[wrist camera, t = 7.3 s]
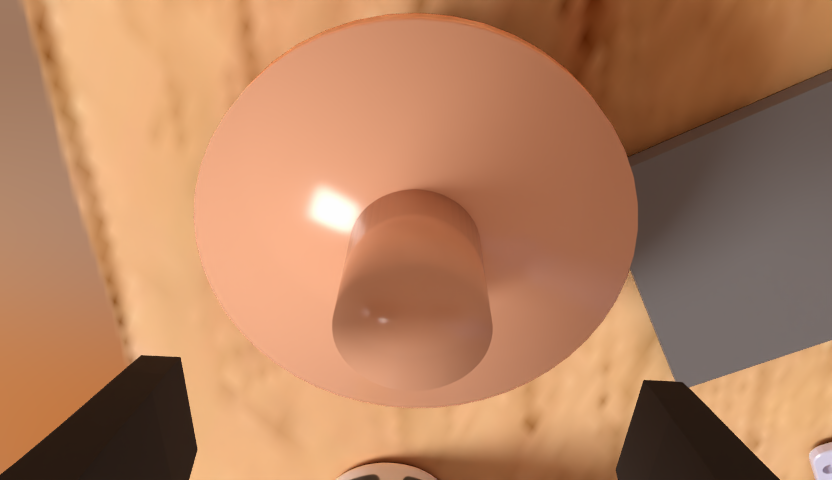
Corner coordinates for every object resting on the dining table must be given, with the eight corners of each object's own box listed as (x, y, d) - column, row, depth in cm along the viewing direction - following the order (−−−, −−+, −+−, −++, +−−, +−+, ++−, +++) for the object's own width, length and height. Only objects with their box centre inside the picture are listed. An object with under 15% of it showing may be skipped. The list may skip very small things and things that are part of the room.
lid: (682, 301, 16) (749, 412, 13) (348, 431, 18) (331, 552, 15) (522, -89, 11) (561, -75, 8) (113, 152, 14) (17, 237, 11)
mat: (948, 285, 20) (962, 296, 20) (674, 378, 22) (680, 390, 22) (921, 30, 16) (937, 35, 16) (591, 173, 18) (595, 181, 18)
